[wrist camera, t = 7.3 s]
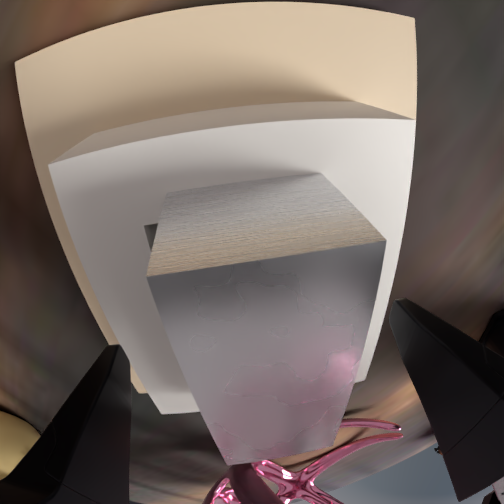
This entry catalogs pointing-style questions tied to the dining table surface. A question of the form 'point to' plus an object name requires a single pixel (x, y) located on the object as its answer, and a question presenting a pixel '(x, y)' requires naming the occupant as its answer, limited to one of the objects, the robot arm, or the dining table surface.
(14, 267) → the dining table surface
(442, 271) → the dining table surface
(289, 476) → the pink openwork sphere
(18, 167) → the dining table surface
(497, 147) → the dining table surface
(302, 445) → the grey wooden block
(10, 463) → the sculpture
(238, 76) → the cream square frame
